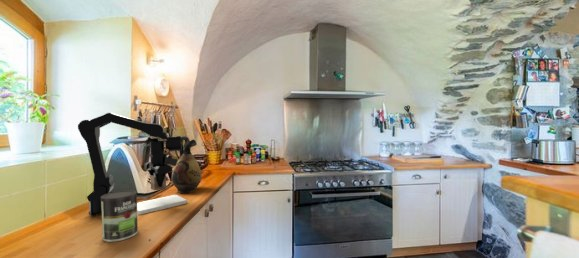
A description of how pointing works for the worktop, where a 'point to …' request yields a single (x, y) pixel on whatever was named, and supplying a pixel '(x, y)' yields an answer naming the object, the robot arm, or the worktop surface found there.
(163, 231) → the worktop surface
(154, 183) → the walnut block
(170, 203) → the chopping board
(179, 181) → the ceramic jug
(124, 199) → the coffee can
